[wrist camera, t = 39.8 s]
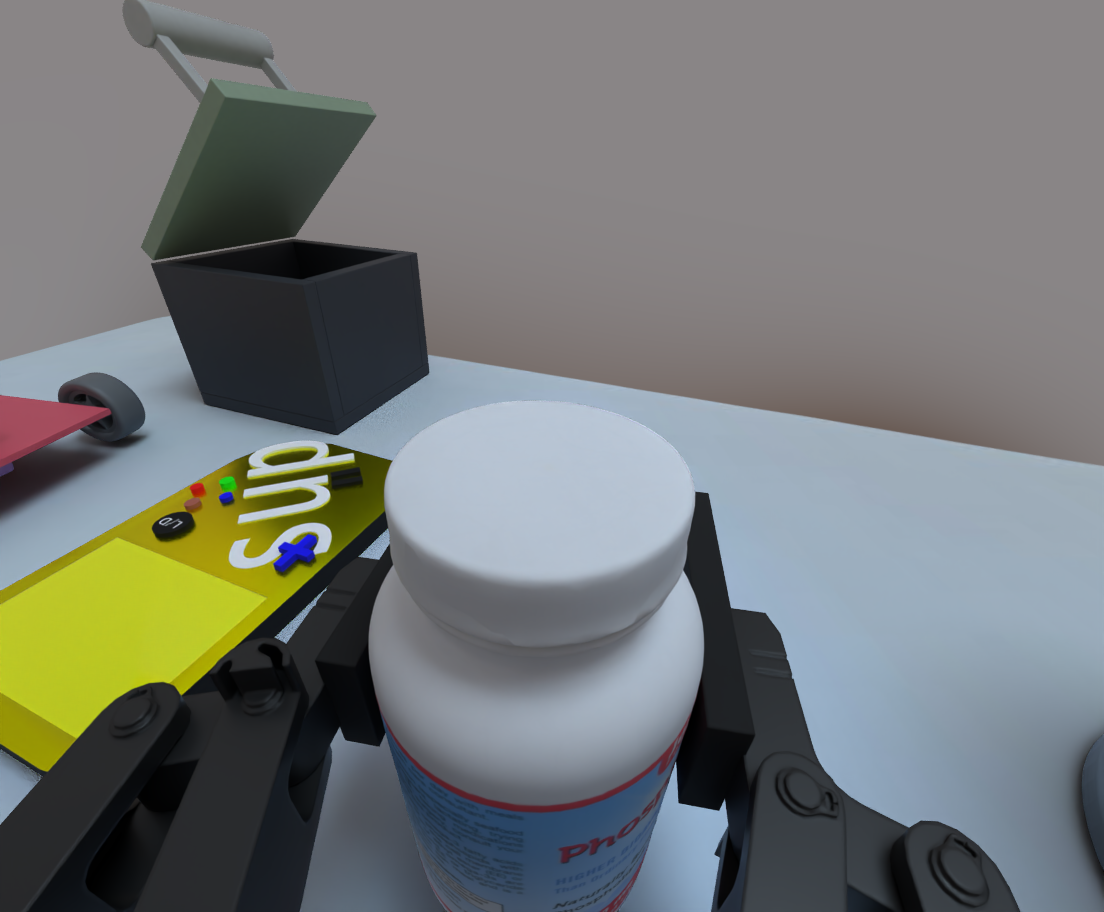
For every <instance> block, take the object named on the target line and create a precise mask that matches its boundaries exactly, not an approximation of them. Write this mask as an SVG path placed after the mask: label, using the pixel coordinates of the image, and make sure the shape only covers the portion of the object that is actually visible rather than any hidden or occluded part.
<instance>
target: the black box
mask: <svg viewBox="0 0 1104 912" xmlns="http://www.w3.org/2000/svg"><path fill="white" fill-rule="evenodd" d="M151 265H152V268H153V271H154V273H155V276H156V278H157V281H158V283H159V286H160V289H161V291H162V294H163V296H164V299H165V302H166V304H167V307H168V309H169V312H170V315H171V317H172V320H173V322H174V325H175V328H176V330H177V333H178V335H179V338H180V341H181V343H182V346H183V348H184V351H185V354H186V356H187V359H188V361H189V364H190V366H191V369H192V372H193V374H194V377H195V379H196V382H197V385H198V387H199V390H200V392H201V395H202V397H203V400H204V403H205V404H208V405H212V406H216V407H221V408H225V409H229V410H234V411H238V412H242V413H246V414H251V415H255V416H259V417H264V418H268V419H272V420H276V421H281V422H285V423H289V424H294V425H298V426H302V427H306V428H311V429H315V430H319V431H324V432H328V433H332V434H339V433H340V432H342V431H343V430H345V429H346V428H348V427H349V426H351V425H352V424H354V423H355V422H357V421H358V420H360V419H361V418H363V417H364V416H366V415H367V414H369V413H370V412H372V411H373V410H375V409H376V408H378V407H379V406H381V405H382V404H384V403H385V402H387V401H388V400H390V399H391V398H393V397H394V396H396V395H397V394H399V393H400V392H402V391H403V390H405V389H406V388H408V387H409V386H411V385H412V384H413V383H415V382H416V381H418V380H419V379H421V378H422V377H424V376H425V375H427V374H428V373H429V364H428V355H427V346H426V336H425V327H424V317H423V308H422V298H421V289H420V279H419V269H418V259H417V253H413V252H405V251H396V250H387V249H378V248H369V247H360V246H351V245H342V244H333V243H324V242H315V241H305V240H296V239H290V240H285V241H278V242H273V243H266V244H260V245H255V246H249V247H243V248H237V249H231V250H225V251H220V252H214V253H208V254H202V255H197V256H190V257H185V258H179V259H173V260H167V261H162V262H156V263H151Z"/></svg>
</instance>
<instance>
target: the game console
mask: <svg viewBox="0 0 1104 912" xmlns="http://www.w3.org/2000/svg"><path fill="white" fill-rule="evenodd" d="M391 463H392V461H391V460H388V459H384V458H380V457H377V456H373V455H370V454H366V453H362V452H359V451H355V450H351V449H348V448H344V447H341V446H337V445H333V444H325V443H322V442H318V441H294V442H287V443H281V444H276V445H272V446H269V447H265V448H263V449H260V450H258V451H256V452H254V453H251V454H249V455H246V456H244V457H241V458H239V459H236V460H234V461H232V462H231V463H229V464H227V465H225V466H223V467H222V468H220V469H218V470H216V471H215V472H213V473H211V474H209V475H207V476H206V477H204V478H202V479H200V480H198V481H197V482H195V483H193V484H191V485H189V486H188V487H186V488H184V489H182V490H180V491H179V492H177V493H175V494H173V495H171V496H170V497H168V498H166V499H164V500H162V501H161V502H159V503H157V504H155V505H154V506H152V507H150V508H148V509H146V510H145V511H143V512H141V513H139V514H137V515H136V516H134V517H132V518H130V519H128V520H127V521H125V522H123V523H121V524H119V525H118V526H116V527H114V528H112V529H110V530H109V531H107V532H105V533H103V534H101V535H100V536H98V537H96V538H94V539H93V540H91V541H89V542H87V543H85V544H84V545H82V546H80V547H78V548H76V549H75V550H73V551H71V552H69V553H67V554H66V555H64V556H62V557H60V558H58V559H57V560H55V561H53V562H51V563H49V564H48V565H46V566H44V567H42V568H40V569H39V570H37V571H35V572H33V573H32V574H30V575H28V576H26V577H24V578H23V579H21V580H19V581H17V582H15V583H14V584H12V585H10V586H8V587H6V588H5V589H3V590H1V591H0V749H2V750H3V751H5V752H6V753H8V754H9V755H11V756H12V757H14V758H15V759H17V760H19V761H20V762H22V763H23V764H25V765H26V766H28V767H29V768H31V769H32V770H34V771H35V772H37V773H38V774H40V775H41V776H44V775H45V774H46V773H47V772H48V771H49V770H50V769H51V767H52V766H53V765H54V764H55V763H56V762H57V761H58V760H59V758H60V757H61V756H62V755H63V754H64V753H65V752H66V751H67V749H68V748H69V747H70V746H71V745H72V744H73V743H74V742H75V741H76V739H77V738H78V737H79V736H80V735H81V734H82V733H83V732H84V730H85V729H86V728H87V727H88V726H89V725H90V724H91V723H92V721H93V720H94V719H95V718H96V717H97V716H98V715H99V714H100V713H101V712H102V711H103V710H104V709H105V708H106V707H107V706H108V705H109V704H110V703H112V702H113V701H114V700H115V699H116V698H118V697H120V696H121V695H123V694H125V693H126V692H128V691H130V690H131V689H134V688H136V687H139V686H142V685H145V684H148V683H155V682H166V683H169V684H171V685H174V686H175V687H176V689H177V690H178V692H179V693H180V694H181V696H187V695H194V694H200V693H207V692H214V691H218V689H217V687H216V686H215V684H214V682H213V681H212V679H211V677H210V676H209V673H210V671H211V670H212V668H213V667H214V665H215V664H216V663H217V661H218V660H219V659H220V658H222V657H223V656H224V655H225V654H226V653H228V652H229V651H230V650H231V649H233V648H235V647H237V646H239V645H241V644H243V643H245V642H246V641H250V640H254V639H258V638H262V637H263V638H273V637H274V636H276V635H277V634H278V633H279V632H280V631H281V630H282V629H283V628H284V627H285V626H286V625H287V624H288V623H289V622H290V621H291V620H292V619H293V618H294V617H295V616H296V615H297V614H298V613H300V612H301V611H302V610H303V609H304V608H305V607H306V606H307V605H308V604H309V603H310V602H311V601H312V600H313V599H314V598H315V597H316V596H317V595H318V594H319V593H320V592H321V591H322V590H323V589H325V588H326V587H327V586H328V585H329V584H330V583H331V581H332V580H333V579H334V577H335V576H336V575H337V573H338V572H339V571H340V570H341V569H342V568H344V567H345V566H346V565H348V564H349V563H350V562H352V561H353V560H354V559H356V558H357V557H358V556H359V555H360V554H361V553H362V552H363V551H364V550H365V549H366V548H367V547H368V546H369V545H370V544H371V543H372V542H374V541H375V540H376V539H377V538H378V537H379V536H380V535H381V534H382V533H383V532H384V531H385V530H386V529H387V528H388V523H387V517H386V512H385V506H384V487H385V479H386V476H387V473H388V470H389V467H390V465H391Z"/></svg>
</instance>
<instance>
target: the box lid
mask: <svg viewBox="0 0 1104 912" xmlns="http://www.w3.org/2000/svg"><path fill="white" fill-rule="evenodd" d="M123 17H124V21H125V25H126V27H127V29H128V31H129V33H130V34H131V36H132V37H133V39H134V40H135V41H136V42H137V43H139V44H140V45H142V46H144V47H148V48H154V49H156V50H157V51H158V52H159V53H160V55H161V56H162V57H163V58H164V60H165V61H166V62H167V63H168V64H169V66H170V67H171V68H172V69H173V70H174V72H175V73H176V74H177V75H178V77H179V78H180V79H181V80H182V81H183V83H184V84H185V85H186V86H187V88H188V89H189V90H190V91H191V93H192V94H193V95H194V96H195V97H196V99H197V100H198V101H199V102H200V105H199V108H198V110H197V113H196V115H195V117H194V120H193V122H192V125H191V127H190V129H189V132H188V134H187V137H186V139H185V142H184V144H183V147H182V149H181V151H180V154H179V156H178V159H177V161H176V163H175V166H174V169H173V171H172V174H171V175H170V178H169V180H168V183H167V185H166V188H165V191H164V192H163V195H162V197H161V200H160V202H159V205H158V207H157V209H156V212H155V214H154V217H153V219H152V221H151V224H150V226H149V229H148V231H147V234H146V236H145V239H144V241H143V243H142V246H141V248H142V249H143V250H144V251H145V252H146V253H147V254H148V256H149V257H150V258H151V259H152V260H158V259H164V258H170V257H176V256H182V255H187V254H194V253H200V252H206V251H212V250H218V249H224V248H230V247H236V246H242V245H248V244H254V243H259V242H266V241H272V240H278V239H284V238H290V237H295V236H296V235H297V233H298V232H299V230H300V229H301V227H302V226H303V224H304V223H305V221H306V220H307V218H308V217H309V215H310V214H311V212H312V211H313V209H314V208H315V206H316V205H317V203H318V202H319V200H320V199H321V197H322V196H323V194H324V193H325V191H326V190H327V189H328V187H329V186H330V184H331V183H332V181H333V180H334V178H335V177H336V175H337V174H338V172H339V170H340V169H341V168H342V166H343V165H344V163H345V162H346V160H347V159H348V157H349V156H350V154H351V153H352V151H353V150H354V148H355V147H356V145H357V144H358V142H359V141H360V140H361V138H362V137H363V135H364V134H365V132H366V131H367V129H368V127H369V126H370V125H371V123H372V122H373V120H374V119H375V117H376V114H375V113H374V111H373V110H372V109H371V107H370V106H369V105H368V103H366V102H361V101H354V100H348V99H341V98H335V97H328V96H321V95H315V94H309V93H302V92H297V91H296V90H295V89H294V88H293V86H292V85H291V84H290V82H289V81H288V80H287V79H286V77H285V76H284V74H283V73H282V72H281V70H280V69H279V68H278V67H277V65H276V64H275V63H274V61H273V57H274V55H273V49H272V45H271V43H270V41H269V39H268V38H267V37H266V35H265V34H264V33H262V32H261V31H258V30H255V29H251V28H247V27H243V26H240V25H236V24H232V23H229V22H225V21H221V20H217V19H214V18H210V17H206V16H203V15H199V14H195V13H192V12H188V11H184V10H180V9H177V8H173V7H169V6H166V5H162V4H158V3H154V2H150V1H147V0H125V1H124V3H123ZM183 54H185V55H190V56H195V57H201V58H206V59H211V60H216V61H222V62H227V63H233V64H238V65H243V66H248V67H253V68H259V69H262V70H263V71H264V72H265V74H266V75H267V76H268V77H269V79H270V80H271V82H272V83H273V84H274V86H275V87H276V88H270V87H263V86H257V85H251V84H244V83H238V82H231V81H225V80H218V79H212V78H211V79H210V81H209V84H208V85H207V84H206V83H205V81H204V80H203V79H202V78H201V76H200V75H199V74H198V73H197V71H196V70H195V69H194V68H193V66H192V65H191V64H190V63H189V61H188V60H187V59H186V58H185V57H184V55H183Z"/></svg>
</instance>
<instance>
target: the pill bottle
mask: <svg viewBox="0 0 1104 912" xmlns="http://www.w3.org/2000/svg"><path fill="white" fill-rule="evenodd" d="M384 506H385V512H386V517H387V523H388V529H389V534H390V551H391V558H392V561H393V566H392V567H391V569H390V571H389V572H388V574H387V576H386V578H385V579H384V581H383V583H382V586H381V588H380V590H379V593H378V595H377V598H376V600H375V604H374V607H373V612H372V616H371V621H370V627H369V661H370V668H371V674H372V679H373V684H374V689H375V694H376V698H377V702H378V705H379V709H380V713H381V717H382V721H383V725H384V729H385V732H386V736H387V739H388V743H389V746H390V750H391V753H392V757H393V760H394V763H395V767H396V770H397V774H398V778H399V782H400V786H401V790H402V794H403V797H404V801H405V805H406V809H407V812H408V815H409V819H410V823H411V827H412V830H413V834H414V838H415V841H416V845H417V848H418V852H419V856H420V859H421V862H422V865H423V868H424V871H425V874H426V876H427V878H428V881H429V883H430V885H431V888H432V889H433V891H434V893H435V895H436V897H437V898H438V900H439V901H440V903H441V904H442V906H443V907H444V909H445V910H446V911H447V912H617V911H618V910H619V908H620V907H621V905H622V904H623V902H624V901H625V899H626V898H627V896H628V894H629V893H630V891H631V889H632V887H633V885H634V883H635V881H636V878H637V876H638V873H639V870H640V868H641V865H642V863H643V860H644V857H645V854H646V851H647V848H648V845H649V841H650V838H651V834H652V831H653V828H654V825H655V823H656V819H657V816H658V813H659V810H660V807H661V804H662V801H663V798H664V795H665V792H666V789H667V786H668V783H669V780H670V777H671V774H672V771H673V768H674V765H675V762H676V760H677V757H678V753H679V750H680V746H681V743H682V739H683V736H684V734H685V731H686V728H687V726H688V722H689V719H690V716H691V712H692V709H693V706H694V703H695V700H696V696H697V692H698V687H699V683H700V679H701V674H702V668H703V657H704V633H703V624H702V618H701V614H700V610H699V606H698V603H697V600H696V596H695V594H694V592H693V589H692V587H691V585H690V583H689V580H688V578H687V576H686V575H685V573H684V571H683V569H684V565H685V562H686V556H687V540H688V536H689V532H690V528H691V523H692V518H693V513H694V508H695V487H694V481H693V478H692V475H691V472H690V470H689V468H688V466H687V464H686V463H685V461H684V459H683V458H682V457H681V455H680V454H679V453H678V452H677V450H676V449H675V448H674V447H673V446H672V445H671V444H670V443H669V442H668V441H667V440H665V439H664V438H663V437H661V436H660V435H659V434H657V433H656V432H654V431H652V430H651V429H649V428H648V427H646V426H644V425H642V424H640V423H638V422H636V421H634V420H632V419H630V418H627V417H625V416H622V415H619V414H617V413H614V412H610V411H607V410H603V409H600V408H596V407H592V406H587V405H581V404H575V403H569V402H563V401H538V400H531V401H511V402H501V403H495V404H488V405H484V406H479V407H475V408H472V409H468V410H465V411H462V412H459V413H456V414H454V415H451V416H449V417H446V418H444V419H441V420H439V421H437V422H436V423H434V424H432V425H430V426H429V427H427V428H425V429H423V430H422V431H420V432H419V433H418V434H416V435H415V436H414V437H413V438H411V439H410V440H409V441H408V442H407V443H406V444H405V445H404V447H403V448H402V449H401V450H400V451H399V452H398V454H397V455H396V457H395V458H394V460H393V461H392V463H391V465H390V467H389V470H388V473H387V476H386V479H385V487H384Z"/></svg>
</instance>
